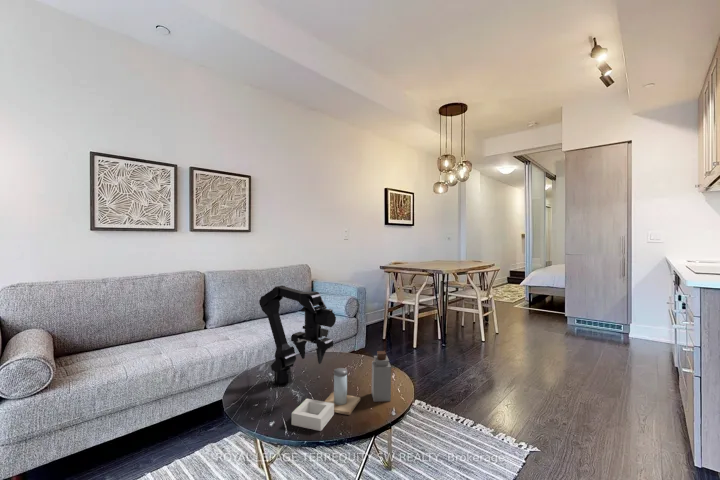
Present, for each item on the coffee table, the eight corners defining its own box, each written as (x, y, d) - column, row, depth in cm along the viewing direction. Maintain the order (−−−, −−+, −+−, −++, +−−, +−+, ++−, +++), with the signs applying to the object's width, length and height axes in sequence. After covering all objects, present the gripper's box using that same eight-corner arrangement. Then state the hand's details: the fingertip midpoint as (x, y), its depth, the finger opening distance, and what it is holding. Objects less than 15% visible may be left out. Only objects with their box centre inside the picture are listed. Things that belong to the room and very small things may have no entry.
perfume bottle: (371, 393, 140) (372, 349, 140) (387, 392, 141) (388, 349, 140) (373, 401, 133) (374, 355, 133) (390, 401, 134) (391, 355, 133)
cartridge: (333, 405, 128) (333, 373, 128) (333, 398, 133) (333, 368, 133) (347, 404, 128) (347, 373, 128) (346, 398, 134) (346, 367, 133)
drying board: (319, 409, 127) (319, 406, 127) (332, 394, 138) (332, 392, 138) (349, 415, 123) (349, 412, 123) (360, 399, 134) (360, 397, 134)
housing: (291, 424, 117) (291, 413, 116) (306, 409, 127) (306, 398, 127) (320, 431, 113) (320, 419, 113) (333, 414, 123) (334, 403, 123)
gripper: (341, 322, 141) (341, 360, 141) (308, 315, 152) (308, 350, 152) (324, 328, 132) (323, 368, 132) (290, 321, 142) (289, 358, 143)
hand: (311, 361), depth 140 cm, fingers open, 9 cm apart
